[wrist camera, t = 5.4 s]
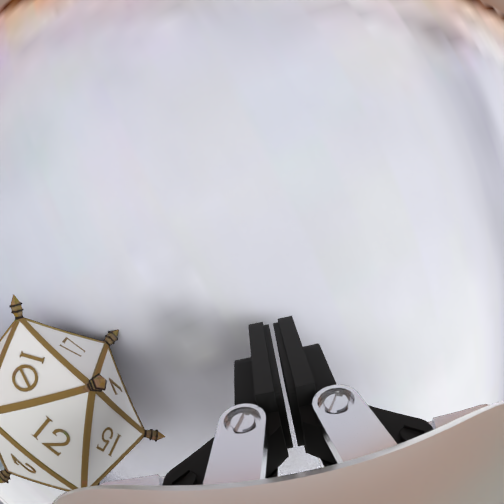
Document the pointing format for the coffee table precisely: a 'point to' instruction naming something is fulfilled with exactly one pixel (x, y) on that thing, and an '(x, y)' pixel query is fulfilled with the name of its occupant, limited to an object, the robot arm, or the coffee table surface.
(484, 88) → the coffee table surface
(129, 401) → the game die
